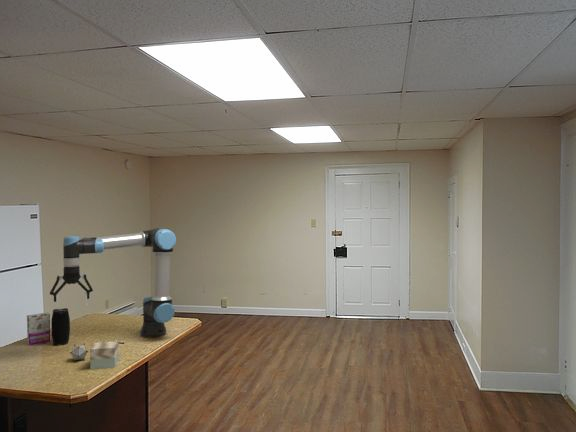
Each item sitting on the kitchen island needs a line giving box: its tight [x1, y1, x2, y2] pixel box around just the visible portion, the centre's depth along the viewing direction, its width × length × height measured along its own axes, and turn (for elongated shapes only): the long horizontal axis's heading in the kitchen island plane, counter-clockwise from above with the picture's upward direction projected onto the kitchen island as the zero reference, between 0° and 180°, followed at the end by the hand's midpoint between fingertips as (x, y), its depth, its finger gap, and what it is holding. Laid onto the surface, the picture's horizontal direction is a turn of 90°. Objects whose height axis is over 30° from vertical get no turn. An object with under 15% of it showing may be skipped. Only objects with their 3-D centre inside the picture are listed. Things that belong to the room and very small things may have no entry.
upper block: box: [89, 340, 119, 361], centre depth 220 cm, size 11×11×5 cm
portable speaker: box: [50, 307, 71, 346], centre depth 255 cm, size 9×9×20 cm
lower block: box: [89, 351, 119, 370], centre depth 220 cm, size 11×11×5 cm
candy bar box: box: [26, 312, 51, 346], centre depth 257 cm, size 11×5×16 cm, turn 129°
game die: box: [69, 343, 89, 362], centre depth 227 cm, size 9×8×10 cm
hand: (71, 306), depth 234 cm, fingers open, 13 cm apart
